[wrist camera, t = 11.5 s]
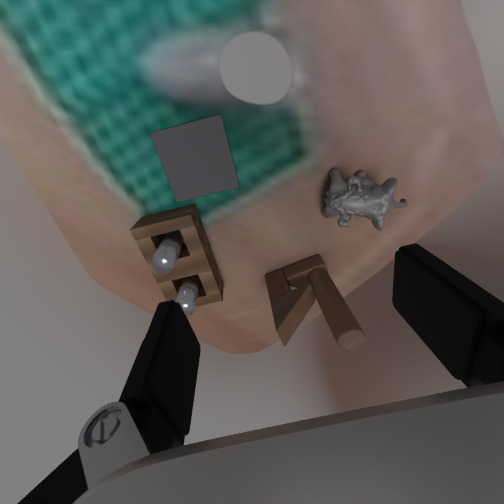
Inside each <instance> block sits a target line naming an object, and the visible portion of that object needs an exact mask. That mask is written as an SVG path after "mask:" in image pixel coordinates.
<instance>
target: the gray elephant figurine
mask: <svg viewBox="0 0 504 504" xmlns="http://www.w3.org/2000/svg"><path fill="white" fill-rule="evenodd" d="M329 175H330V177H331V184H330V187H329V190H328V191H327V192H326V195H327V196H328V198H326V199H325V202H326V207H325V208H324V209H323V210H322V214H323V216H324V217H325V218H329V217H332V216H335V215H340V218H339V220H338V225H339V226H340V227H348V226H349V225H350V223H351V220H352V218H353V217H354V216H361V217H362V216H365V217H366V218H368V219H370V220H371V221H372V223H373V225H374V227H375V228H376V229H378V230H382V224H383V222H384V219H385V216H386V215H387V214H388V213H389V212H390V211H391V210H392V209H393V208H402V207H406V206H407V201H406V199H401V200H400V202H395V201H394V199H393V197H392V195H393V191H394V189H395V187H396V186H397V183H398V180H397V179H396V178H389V179H387V180H386V181H385V182H384V183H383V184H382V185H381V186H379V185H378V184H376V183H374V182H373V181H372V180H370V179H368V178H367V176H366V173H365V172H364V171H360V172H358V173H357V174H356V176H350V177H349V178H348V181H347V182H346V181H344V180H343V179H342V177H341V173H340V171H339V170H338V169H333V170H331V171H330V173H329ZM353 184H357V185H353ZM344 215H345V216H346V217H347V216H350V219H349V220H348V221H346V220H345V219H344V217H343V216H344Z"/></svg>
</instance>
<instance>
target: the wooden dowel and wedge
mask: <svg viewBox="0 0 504 504" xmlns="http://www.w3.org/2000/svg"><path fill="white" fill-rule="evenodd" d="M265 278H266V283H267V288H268V293H269V298H270V303H271V307H272V312H273V317H274V322H275V327H276V331H277V333H278V335H279V337H280V339H281V341H282V343H283V345H284V346H286V344H287V343H288V341H289V340H290V338H291V337H292V335H293V334H294V332H295V331H296V329H297V328H298V326H299V325H300V323H301V322H302V320H303V319H304V317H305V316H306V314H307V313H308V311H309V310H310V308H311V307H312V305H313V304H314V302H315V301H316V299H317V301H318V303H319V305H320V308H321V310H322V312H323V314H324V316H325V318H326V321H327V323H328V325H329V327H330V329H331V331H332V334H333V336H334V338H335V340H336V342H337V344H338V346H339V347H341V348H342V349H345V350H352V349H355V348H358V347H359V346H361V345H362V344H363V343H364V341H365V333H364V331H363V330H362V328H361V327H360V325H359V323H358V322H357V320H356V319H355V317H354V315H353V314H352V312H351V310H350V309H349V307H348V305H347V304H346V303H345V300H344V299H343V297H342V295H341V294H340V292H339V291H338V289H337V287H336V286H335V284H334V282H333V281H332V279H331V277H330V276H329V274H328V271H327V268H326V265H325V263H324V261H323V259H322V258H321V256H320V255H319V254H318V255H315V256H313V257H310V258H307V259H305V260H302V261H300V262H297V263H294V264H292V265H289V266H287V267H284V268H283V269H279V270H276V271H273V272H271V273H268V274H266V275H265ZM289 285H290V286H293V287H296V288H298V289H295V290H292V291H291V289H290V286H289Z"/></svg>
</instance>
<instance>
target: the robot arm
mask: <svg viewBox="0 0 504 504" xmlns="http://www.w3.org/2000/svg"><path fill="white" fill-rule="evenodd" d="M392 301H393V305H394V307H395V309H396V310H397V311H398V312H399V313H400V315H401V316H402V317H403V318H404V319H405V321H406V322H407V323H408V324H409V325H410V326H411V328H412V329H413V330H414V331H415V332H416V333H417V334H418V336H419V337H420V338H421V339H422V340H423V342H424V343H425V344H426V345H427V346H428V347H429V349H430V350H431V351H432V352H433V353H434V354H435V356H436V357H437V358H438V359H439V360H440V362H441V363H442V364H443V365H444V366H445V367H446V369H447V370H448V371H449V372H450V373H451V375H452V376H454V378H456V379H458V380H461V381H462V382H463V383H464V384H465V385H466V386H467V388H464V389H458V390H453V391H448V392H443V393H437V394H433V395H427V396H422V397H417V398H412V399H407V400H402V401H397V402H392V403H387V404H381V405H376V406H371V407H366V408H361V409H357V410H352V411H346V412H341V413H336V414H331V415H327V416H322V417H316V418H311V419H307V420H301V421H297V422H292V423H287V424H282V425H278V426H272V427H267V428H263V429H258V430H253V431H248V432H243V433H239V434H234V435H229V436H224V437H219V438H215V439H211V440H206V441H202V442H198V443H193V444H188V445H184V438H185V435H188V433H189V430H190V423H191V416H192V409H193V402H194V395H195V387H196V380H197V373H198V366H199V358H200V344H199V342H198V340H197V338H196V336H195V333H194V331H193V329H192V327H191V325H190V323H189V321H188V319H187V317H186V315H185V313H184V311H183V309H182V307H181V305H180V303H179V302H175V301H174V300H169V301H165V302H160V303H159V304H158V307H157V309H156V312H155V314H154V317H153V319H152V322H151V325H150V327H149V330H148V332H147V334H146V337H145V339H144V340H143V342H142V344H141V347H140V349H139V352H138V354H137V357H136V359H135V362H134V364H133V366H132V369H131V372H130V374H129V377H128V379H127V381H126V384H125V386H124V389H123V392H122V394H121V396H120V399H119V401H118V402H111V403H109V404H107V405H104V406H103V407H102V408H100V409H99V410H98V411H96V412H95V413H94V414H93V415H92V416H91V417H90V418H89V420H88V421H87V422H86V423H85V425H84V427H83V429H82V430H81V432H80V436H79V439H78V449H77V450H76V451H74V452H73V453H72V454H71V455H70V456H69V457H68V458H67V459H66V460H65V461H63V462H62V463H61V464H60V465H59V466H58V467H57V468H56V469H55V470H54V471H53V472H51V473H50V475H48V476H47V477H46V478H45V479H44V480H43V481H42V482H41V483H39V484H38V485H37V486H36V487H35V488H34V489H33V490H32V491H31V492H30V493H29V494H28V495H26V496H25V497H24V498H23V499H22V500H21V501H20V502H19V503H18V504H504V303H503V302H502V301H500V300H499V299H497V298H496V297H494V296H493V295H491V294H490V293H488V292H487V291H486V290H484V289H483V288H481V287H480V286H478V285H477V284H475V283H474V282H472V281H471V280H470V279H468V278H467V277H465V276H464V275H462V274H461V273H459V272H458V271H456V270H455V269H453V268H452V267H451V266H449V265H448V264H446V263H445V262H443V261H442V260H440V259H439V258H437V257H436V256H434V255H433V254H431V253H430V252H428V251H427V250H426V249H424V248H423V247H421V246H420V245H418V244H410V245H406V246H402V247H400V248H399V251H397V252H396V253H395V265H394V281H393V298H392ZM183 445H184V446H183Z"/></svg>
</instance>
